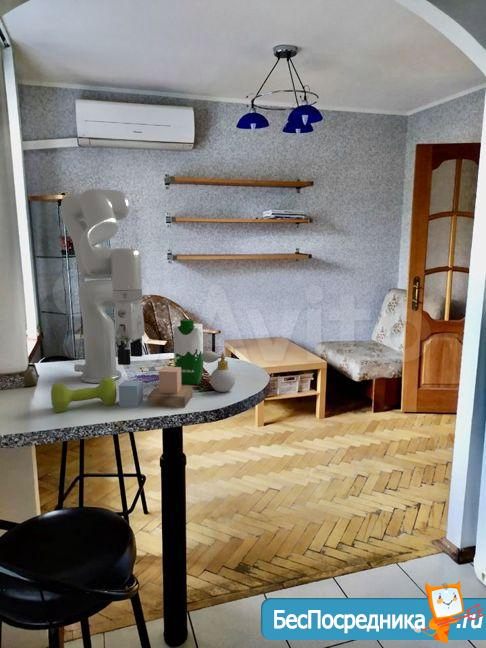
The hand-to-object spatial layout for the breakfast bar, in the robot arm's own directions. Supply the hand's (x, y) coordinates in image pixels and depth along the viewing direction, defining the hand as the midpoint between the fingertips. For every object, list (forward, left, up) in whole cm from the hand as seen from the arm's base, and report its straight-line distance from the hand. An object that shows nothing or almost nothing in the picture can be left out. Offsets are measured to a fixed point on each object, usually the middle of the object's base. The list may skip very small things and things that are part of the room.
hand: (130, 360), depth 127 cm
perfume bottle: (+22, +15, -13) cm, 29 cm away
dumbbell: (-12, -3, -13) cm, 18 cm away
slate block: (0, +1, -13) cm, 13 cm away
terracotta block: (+9, +5, -9) cm, 14 cm away
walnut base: (+10, +5, -12) cm, 16 cm away
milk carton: (+11, +24, -13) cm, 29 cm away
